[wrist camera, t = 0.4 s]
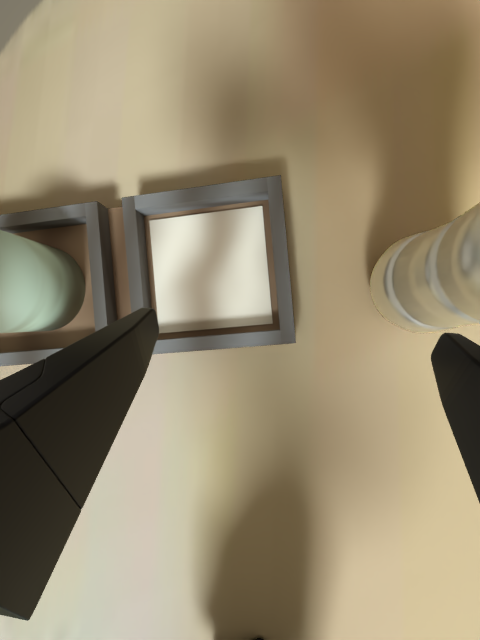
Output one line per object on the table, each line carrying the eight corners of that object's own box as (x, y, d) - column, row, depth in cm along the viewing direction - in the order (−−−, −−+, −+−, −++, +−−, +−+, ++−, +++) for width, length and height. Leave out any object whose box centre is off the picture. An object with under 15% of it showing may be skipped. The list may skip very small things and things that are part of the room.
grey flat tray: (280, 190, 24) (282, 146, 18) (293, 340, 23) (300, 347, 17) (-12, 230, 26) (-96, 204, 20) (-2, 363, 26) (-83, 376, 20)
